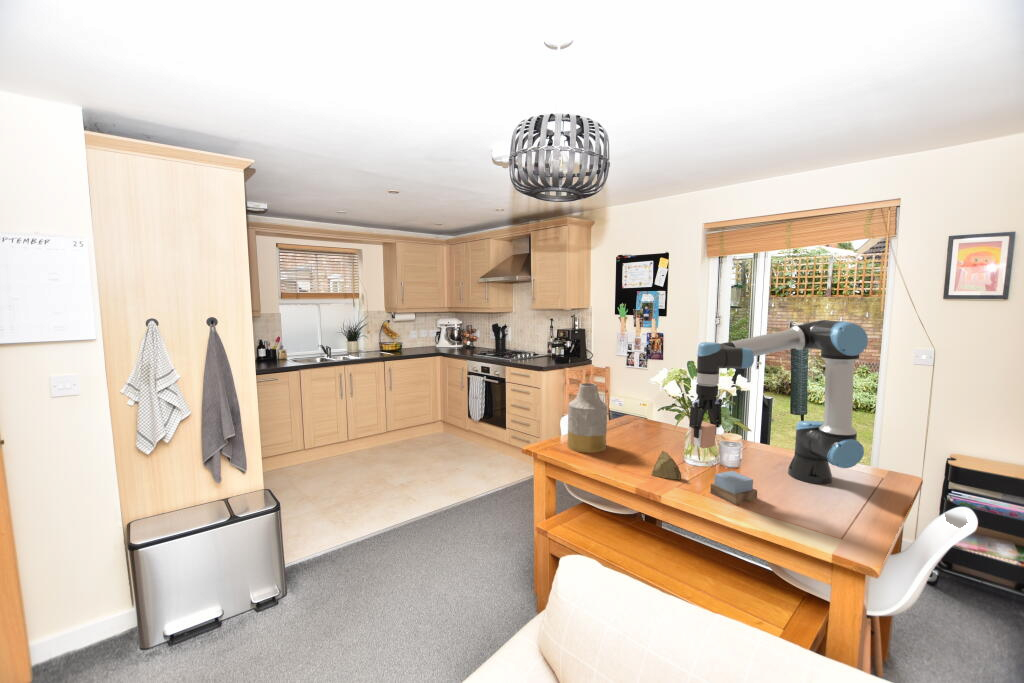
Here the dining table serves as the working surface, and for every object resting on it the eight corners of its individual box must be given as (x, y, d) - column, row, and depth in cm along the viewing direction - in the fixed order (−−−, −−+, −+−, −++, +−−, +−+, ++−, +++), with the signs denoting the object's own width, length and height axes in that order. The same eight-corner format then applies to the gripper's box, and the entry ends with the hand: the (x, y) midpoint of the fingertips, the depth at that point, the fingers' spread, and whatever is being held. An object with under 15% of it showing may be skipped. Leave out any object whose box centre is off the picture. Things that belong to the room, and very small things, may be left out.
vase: (566, 440, 234) (567, 380, 231) (602, 441, 233) (604, 381, 230) (569, 452, 216) (570, 388, 213) (608, 453, 215) (611, 389, 212)
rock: (689, 473, 187) (670, 461, 195) (682, 459, 183) (663, 448, 191) (671, 491, 184) (652, 479, 193) (664, 478, 180) (646, 466, 189)
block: (701, 441, 179) (702, 421, 178) (714, 446, 174) (715, 425, 173) (690, 443, 176) (691, 423, 175) (703, 448, 171) (704, 427, 170)
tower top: (731, 480, 177) (732, 470, 176) (752, 490, 169) (753, 479, 168) (714, 484, 173) (715, 474, 173) (734, 494, 165) (735, 483, 165)
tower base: (730, 489, 178) (731, 479, 178) (756, 501, 169) (757, 490, 168) (710, 494, 174) (710, 484, 173) (735, 506, 164) (736, 495, 163)
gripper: (718, 380, 179) (715, 438, 181) (679, 384, 171) (677, 445, 174) (734, 383, 172) (731, 444, 175) (695, 388, 165) (692, 451, 167)
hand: (704, 444), depth 174 cm, fingers closed on block, 6 cm apart
